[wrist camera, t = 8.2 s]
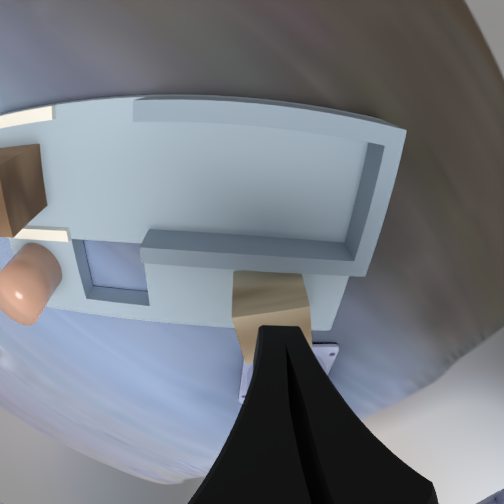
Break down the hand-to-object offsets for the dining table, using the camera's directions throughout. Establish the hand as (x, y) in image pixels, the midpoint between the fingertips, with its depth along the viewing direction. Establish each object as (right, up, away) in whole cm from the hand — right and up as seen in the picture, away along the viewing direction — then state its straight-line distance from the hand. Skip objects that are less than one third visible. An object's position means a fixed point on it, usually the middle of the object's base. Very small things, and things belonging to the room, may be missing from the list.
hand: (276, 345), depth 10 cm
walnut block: (-15, +8, +4) cm, 18 cm away
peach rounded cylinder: (-16, +2, +8) cm, 18 cm away
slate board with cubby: (-6, +6, +8) cm, 12 cm away
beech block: (0, +1, +10) cm, 10 cm away
